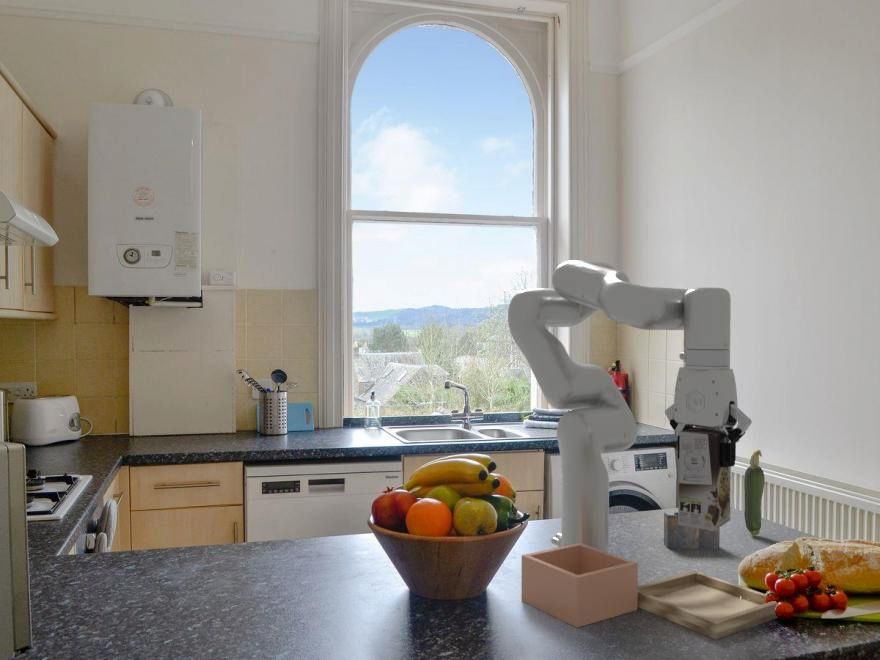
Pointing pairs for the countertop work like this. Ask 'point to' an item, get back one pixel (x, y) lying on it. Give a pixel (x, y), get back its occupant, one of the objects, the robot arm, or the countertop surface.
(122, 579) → the countertop surface
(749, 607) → the tray
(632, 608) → the square storage bin
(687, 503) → the coffee box
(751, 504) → the vegetable
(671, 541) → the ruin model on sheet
